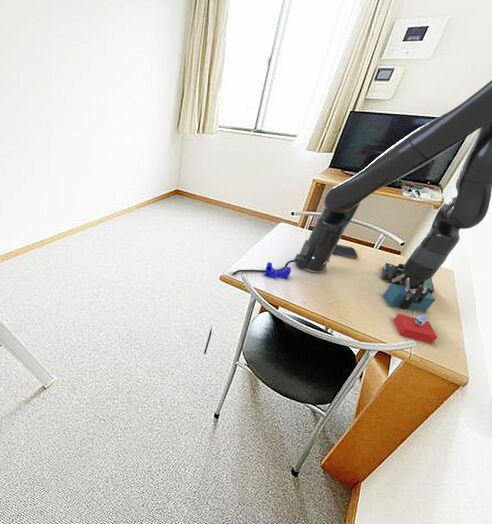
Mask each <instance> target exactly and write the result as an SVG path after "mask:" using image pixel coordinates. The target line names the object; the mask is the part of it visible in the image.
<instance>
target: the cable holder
mask: <svg viewBox="0 0 492 524" xmlns="http://www.w3.org/2000/svg"><path fill="white" fill-rule="evenodd" d="M264 270H265V272H263V273H264V274H263V276H264V277H268V278H271V279H274V280H275V279H277V278H279V279H280V278H281V279H284V280H288V279H289V276H290V274H291V271H292V267H290V266H287V267H286V268H285V269H284V270H280V271H278V270H279V269H275V268H274V267H273V263H272V262H270V261H268V262H267V263H266V265H265V268H264Z"/></svg>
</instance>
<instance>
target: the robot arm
mask: <svg viewBox="0 0 492 524" xmlns="http://www.w3.org/2000/svg"><path fill="white" fill-rule="evenodd" d="M477 130H478V132H477V134H476V137H475V139H474V141H473V143H472V145H471V148H470V150H469V152H468V154H467V156H466V157H465V160H464V162H463V164H462V167H461V168H460V172H459V174H458V177H457V179H456V183H455V190H456V191H457V194H456V196H454V197H451V198H449V199H448V200H446V201H445V202H444V203H443V204H442V205H441V206H440V207H439V209H438V211H437V213H436V215H435V216H434V219H433V222H432V224H431V227H430V229H429V231H428V233H427V234H426V235H425V236H424V238H423V239H422V241H421V242H420V244H419V245H417V247H416V248H415V249H414V250H413V252H412V254H410V256H409V258H407V260H406V261H405V263H399V264H398V265H396V266H397V267H396V269H395V270H394V271H393V273H392V274H391V276H390V277H391V278H392V283H391V282H390V284H389V286H390V285H391V284H396V285H400V284H399V283H402V284H403V285H404V286H405V288H406V289H405V292H406V298H405V299H404V300H403V301H402V303H401V304H400V305H399V307H398V308H400V309H403V310H409V309H408V308H409V307H410V306H411V304H412V303H418V304H420V303H421V302H422V301H423V299H424V298H425V297H426V295H427V294H428V293H429V291H430V288H427V287H425V286H424V282H425V281H426V280H428V279H430V278H432V279H433V277H434V276H435V274H436V273H437V272H438V271H439V269H440V268H441V266H442V265H443V264H444V263H445V262H446V259H447V258H448V256H449V255H450V254H451V252H452V251H453V250H454V249H455V247H456V246H457V244H458V243H459V241H460V239H461V237H460V230H467V229H471V228H474V227H476V226H477V225H479V224H481V222H482V221H483V220H484V219H485V217H486V216H487V214H488V211H489V207H490V202H491V199H492V79H491V80H490V81H488V82H487V83H486V84H485V85H483V87H481V88H480V89H478V91H476V92H475V93H474V94H473V93H472V95H470V96H469V97H468V98H467V99H465V100H464V101H463V102H461V103H460V104H459V105H457V106H456V107H454V108H453V109H450V110H449V111H447V112H445V113H443V114H442V115H440V116H438V117H436V118H434V119H432V120H430V121H429V122H427V123H424V124H423V125H422V126H420V127H418V128H417V129H415V130H413V131H412V132H411V133H409V134H407V135H406V136H404V138H402V139H400V140H399V141H397V142H396V143H395V144H393V145H392V146H391V147H389V148H388V149H387V150H385V151H384V152H382V153H381V154H380V155H379V156H378V157H376V158H375V159H374V160H373V161H372V162H371V163H369V164H368V165H367V166H366V167H364V169H362V170H361V171H359V172H358V173H357V174H355V175H353V176H352V177H350V178H349V179H346V180H345V181H342V182H341V183H339V184H337V185H336V186H335V185H334V186H333V187H331V188H330V189H329V190H328V192H327V193H326V194H325V196H324V201H323V202H324V209H323V211H322V212H321V214H319V216H318V217H317V219H316V221H315V223H314V226H313V228H312V231H311V233H310V234H309V236H308V239H305V241H304V242H303V244H302V245H303V246H302V248H301V249H300V252H299V253H296V255H295V257H294V259H290V260H288V261H287V262H286V263H285V264H284V267H282V268H279V269H277V270H278V271H280V270H284V269H285V268H286V267H288V265H289V264H291V263H295V266H296V267H298V268H300V269H303V270H305V271H307V272H309V273H313V274H314V273H315V274H321V273H323V272H324V271H325V268H326V267H327V264H328V263H330V262H331V257H332V255H333V254H332V253H333V251H334V249H335V247H336V245H337V244H339V241H340V239H341V238H342V236H343V235H344V232H345V230H346V228H347V227H348V226H349V224H350V223H351V221H352V219H353V218H354V216H355V214H356V212H357V210H358V208H359V206H360V205H361V202H362V201H363V200H365V199H366V198H367V197H370V195H372V194H373V193H375V192H377V191H378V190H380V189H382V188H384V187H386V186H388V185H390V184H392V183H394V182H396V181H398V180H400V179H402V178H404V177H407V175H409V174H411V173H413V172H415V171H416V170H418V169H420V168H422V167H424V166H425V165H427V164H428V163H430V162H431V161H433V160H435V159H436V158H438V157H440V156H441V155H442V154H444V153H446V152H447V151H448V150H450V149H451V148H453V147H454V146H456V145H457V144H459V143H460V142H462V141H463V140H465V139H466V138H467V137H469V136H470V135H471V134H473V133H475V132H476V131H477ZM264 272H265V269H237V270H236V271H234V272H232V273H231V275H232V276H235V275H237V274H238V273H264ZM397 273H399V274H398V275H396V274H397ZM389 286H388V287H387V289H388V288H389ZM410 289H415V291H411V290H410ZM411 293H412V294H413V296H412V297H410V296H411ZM417 297H419V298H418V299H417ZM212 330H213V329H212V325H211V326H210V330H209V333H208V337H207V341H206V345H205V348H204V351H203V355H206V354H207V350H208V347H209V344H210V340H211V336H212V333H213V332H212Z"/></svg>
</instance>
